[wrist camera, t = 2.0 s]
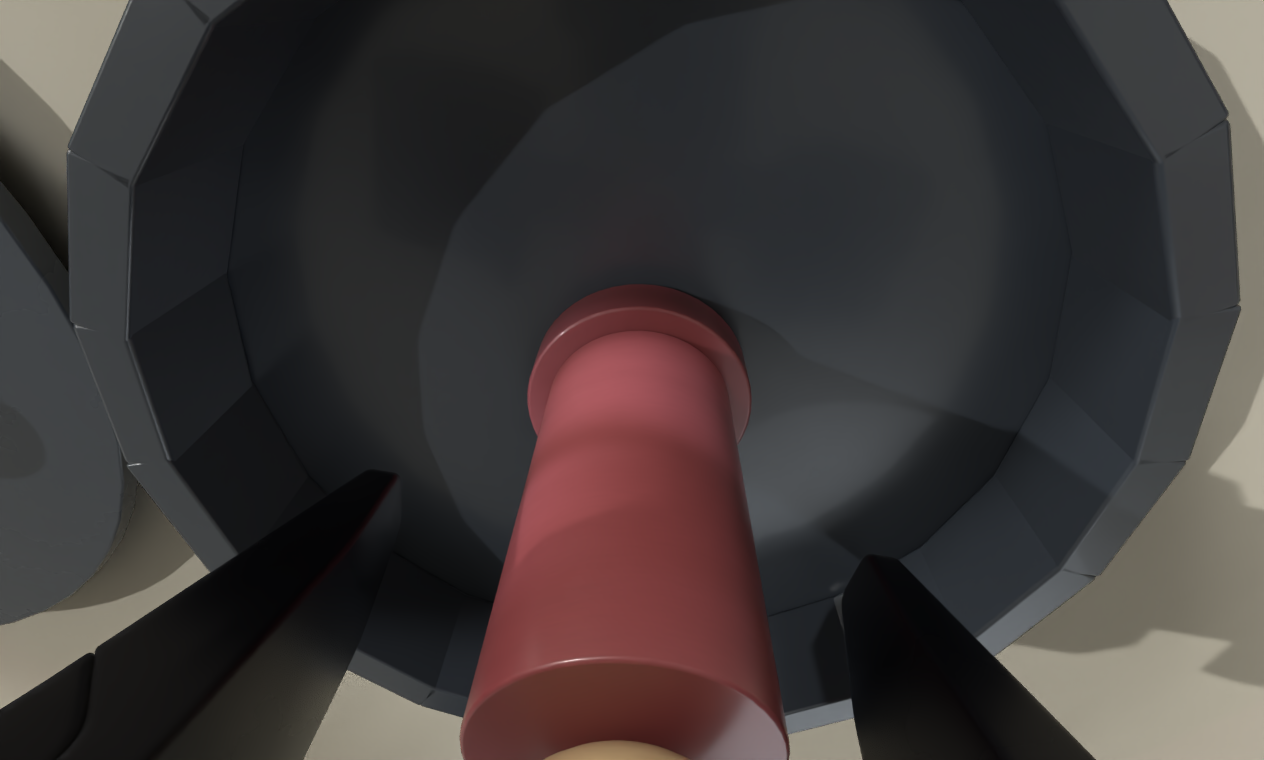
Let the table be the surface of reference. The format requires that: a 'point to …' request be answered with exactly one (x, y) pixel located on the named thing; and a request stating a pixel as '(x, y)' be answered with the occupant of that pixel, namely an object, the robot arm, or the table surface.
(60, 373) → the lid
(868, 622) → the robot arm
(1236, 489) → the table surface
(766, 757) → the doll
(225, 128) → the pan
